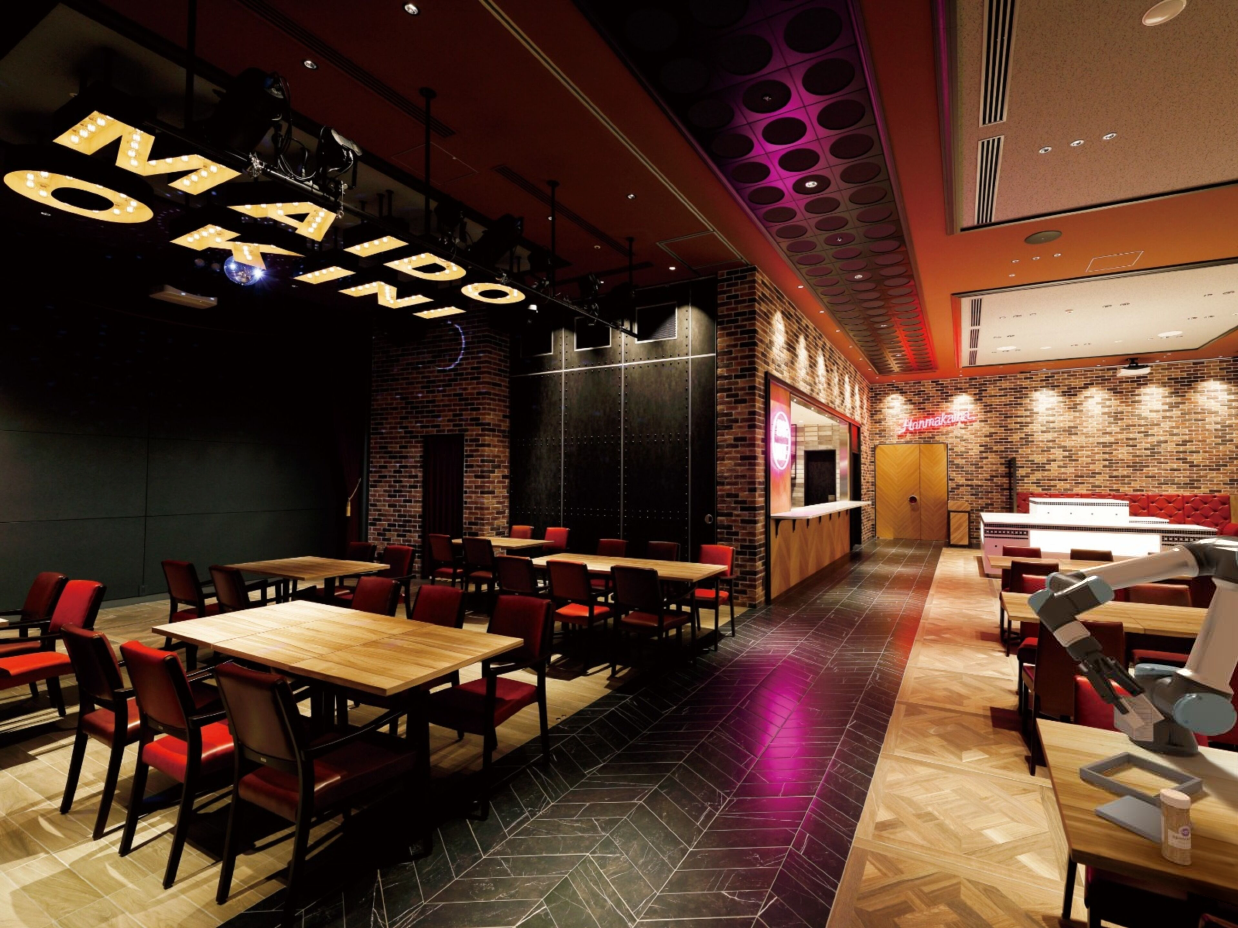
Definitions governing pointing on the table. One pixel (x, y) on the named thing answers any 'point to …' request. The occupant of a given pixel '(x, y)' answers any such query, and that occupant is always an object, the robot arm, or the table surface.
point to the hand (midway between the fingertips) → (1149, 723)
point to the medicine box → (1145, 715)
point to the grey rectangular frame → (1189, 781)
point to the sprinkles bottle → (1175, 826)
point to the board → (1134, 816)
